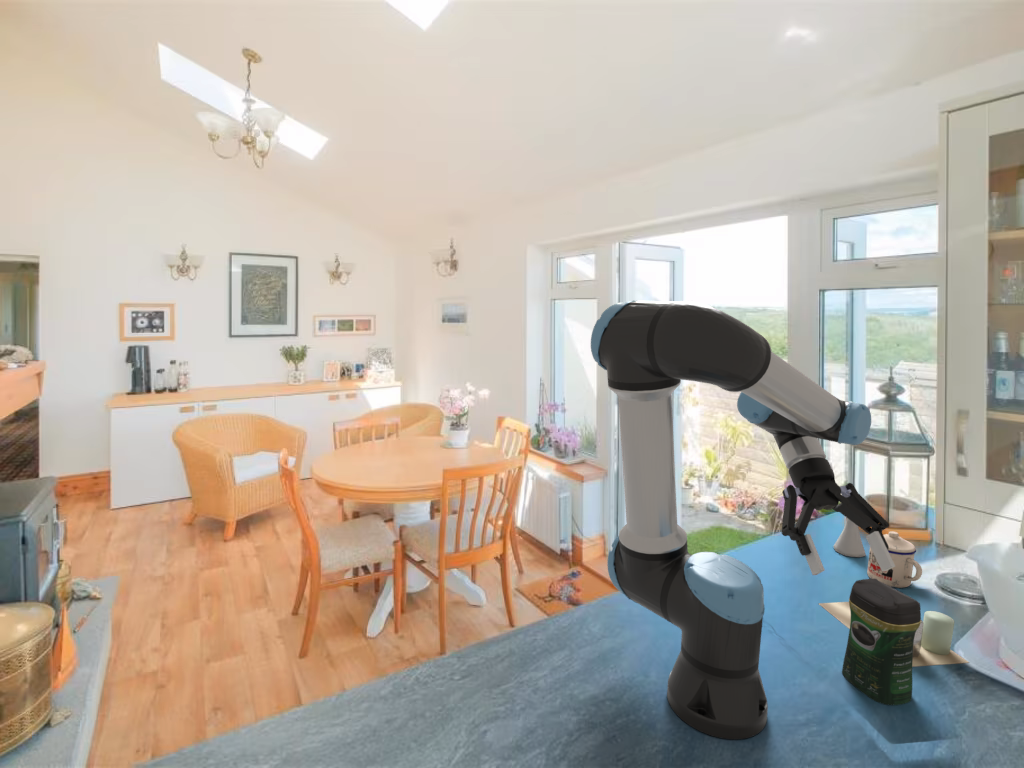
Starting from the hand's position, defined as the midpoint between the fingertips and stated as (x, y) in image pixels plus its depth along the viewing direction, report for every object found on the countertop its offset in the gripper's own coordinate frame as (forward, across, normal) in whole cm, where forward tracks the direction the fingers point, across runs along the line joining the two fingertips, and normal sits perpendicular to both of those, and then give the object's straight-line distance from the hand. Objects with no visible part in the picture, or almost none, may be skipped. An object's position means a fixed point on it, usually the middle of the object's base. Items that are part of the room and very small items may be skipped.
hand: (854, 571), depth 98 cm
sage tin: (+12, -18, -11) cm, 24 cm away
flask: (-16, -34, -42) cm, 56 cm away
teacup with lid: (-5, -32, -30) cm, 45 cm away
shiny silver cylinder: (+12, -12, -11) cm, 20 cm away
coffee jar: (+18, +1, -6) cm, 19 cm away
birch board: (+8, -13, -16) cm, 22 cm away
